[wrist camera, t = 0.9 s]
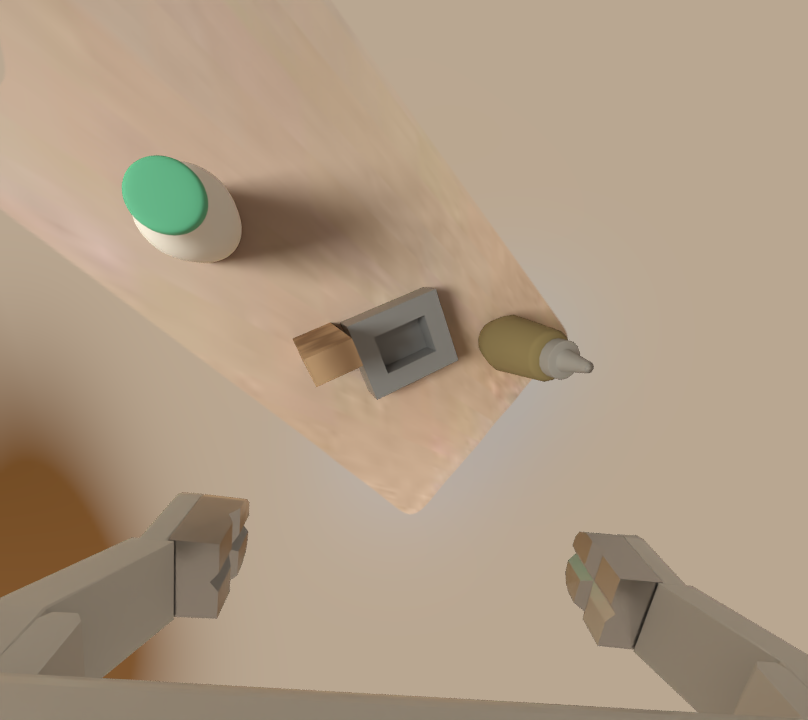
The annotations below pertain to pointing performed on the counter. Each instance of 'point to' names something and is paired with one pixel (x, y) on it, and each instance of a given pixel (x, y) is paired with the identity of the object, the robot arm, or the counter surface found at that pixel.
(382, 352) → the grey hollow block
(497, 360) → the squeeze bottle
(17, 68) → the counter surface
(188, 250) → the milk bottle
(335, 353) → the wooden block
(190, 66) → the counter surface
